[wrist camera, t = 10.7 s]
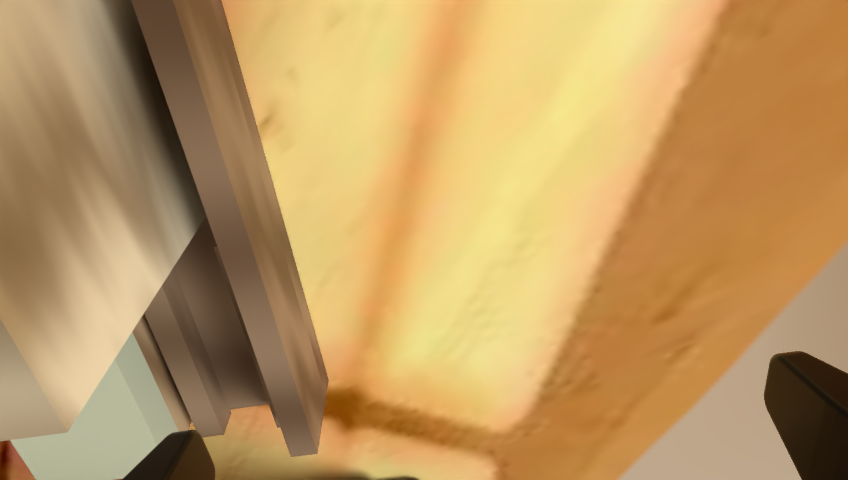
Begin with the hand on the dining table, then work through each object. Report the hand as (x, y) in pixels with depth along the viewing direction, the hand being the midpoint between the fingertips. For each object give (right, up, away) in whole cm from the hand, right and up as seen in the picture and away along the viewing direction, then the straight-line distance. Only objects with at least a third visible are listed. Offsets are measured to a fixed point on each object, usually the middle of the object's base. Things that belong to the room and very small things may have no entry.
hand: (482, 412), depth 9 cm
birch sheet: (-10, +7, +9) cm, 15 cm away
